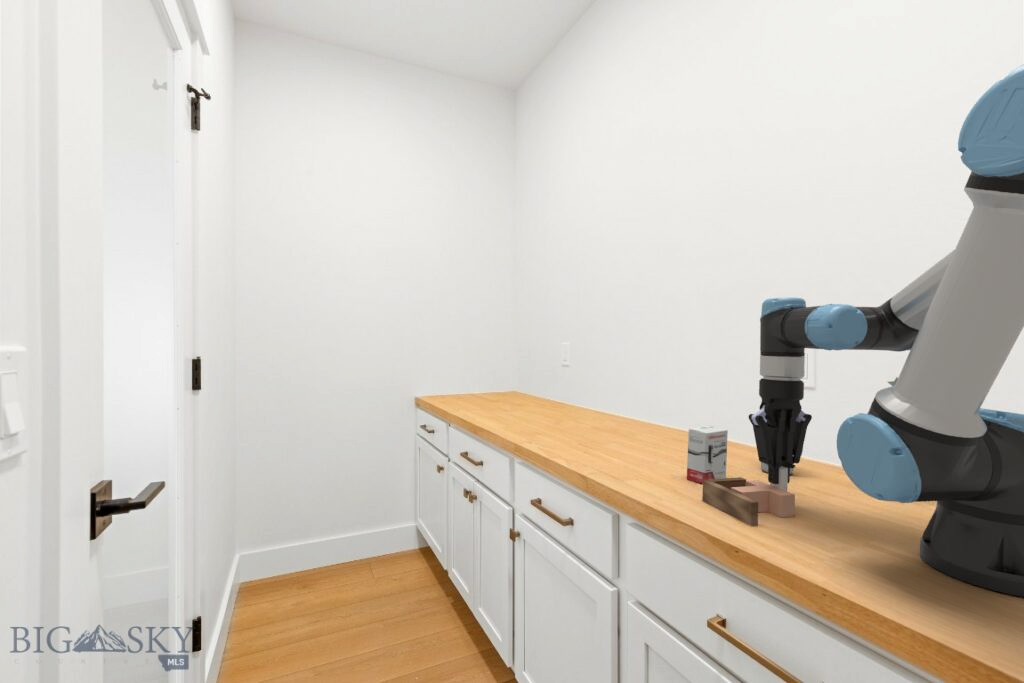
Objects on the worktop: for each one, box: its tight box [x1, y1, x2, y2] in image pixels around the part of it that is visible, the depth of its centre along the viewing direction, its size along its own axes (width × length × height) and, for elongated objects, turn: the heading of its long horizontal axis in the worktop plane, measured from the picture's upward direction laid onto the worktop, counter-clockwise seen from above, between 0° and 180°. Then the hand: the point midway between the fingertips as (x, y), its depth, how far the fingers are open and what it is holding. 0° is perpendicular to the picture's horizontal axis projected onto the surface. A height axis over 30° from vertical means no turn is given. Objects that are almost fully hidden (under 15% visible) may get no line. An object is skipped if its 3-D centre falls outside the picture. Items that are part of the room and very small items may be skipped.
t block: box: [731, 479, 796, 518], centre depth 91 cm, size 9×9×4 cm
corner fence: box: [701, 477, 759, 526], centre depth 91 cm, size 14×10×4 cm
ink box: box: [686, 425, 728, 485], centre depth 110 cm, size 8×5×12 cm, turn 123°
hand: (778, 499), depth 92 cm, fingers closed
